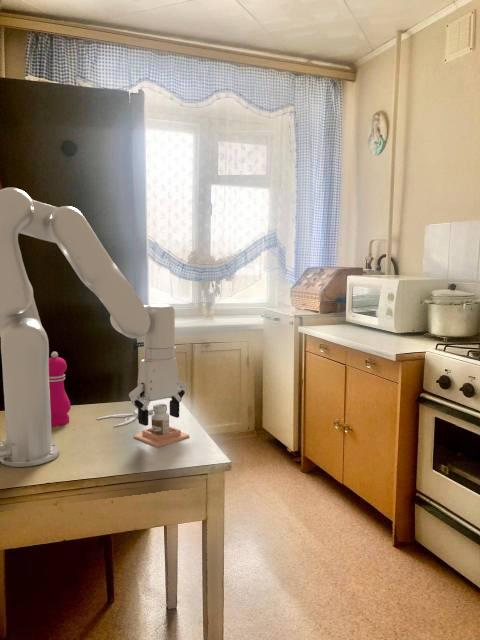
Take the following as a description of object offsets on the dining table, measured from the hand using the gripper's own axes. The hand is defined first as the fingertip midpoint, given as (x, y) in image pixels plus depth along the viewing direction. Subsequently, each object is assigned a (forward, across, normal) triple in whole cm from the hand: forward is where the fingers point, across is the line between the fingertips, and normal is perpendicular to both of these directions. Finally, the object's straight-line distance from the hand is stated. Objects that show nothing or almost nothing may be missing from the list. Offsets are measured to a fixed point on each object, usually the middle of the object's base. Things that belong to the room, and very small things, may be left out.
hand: (159, 420), depth 131 cm
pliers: (+5, -4, -20) cm, 21 cm away
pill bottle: (+4, 0, 0) cm, 4 cm away
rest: (+4, 0, 0) cm, 5 cm away
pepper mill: (+5, +12, -30) cm, 33 cm away
